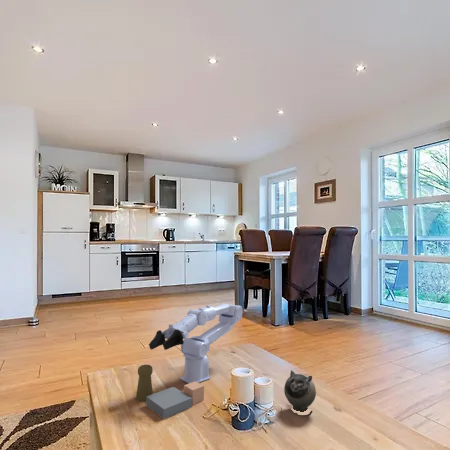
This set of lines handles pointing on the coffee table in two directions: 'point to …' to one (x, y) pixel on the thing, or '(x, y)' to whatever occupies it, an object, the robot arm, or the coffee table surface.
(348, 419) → the coffee table surface
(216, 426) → the coffee table surface
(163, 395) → the plate
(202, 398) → the tan cube
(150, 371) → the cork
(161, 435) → the coffee table surface
